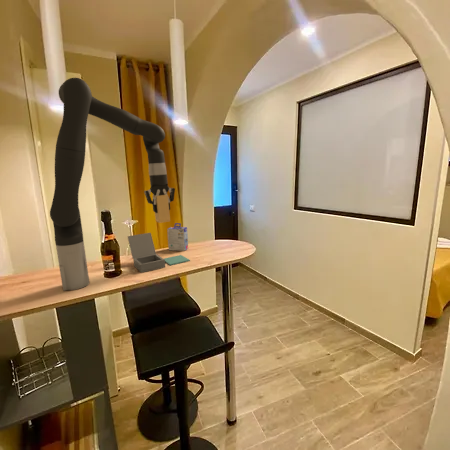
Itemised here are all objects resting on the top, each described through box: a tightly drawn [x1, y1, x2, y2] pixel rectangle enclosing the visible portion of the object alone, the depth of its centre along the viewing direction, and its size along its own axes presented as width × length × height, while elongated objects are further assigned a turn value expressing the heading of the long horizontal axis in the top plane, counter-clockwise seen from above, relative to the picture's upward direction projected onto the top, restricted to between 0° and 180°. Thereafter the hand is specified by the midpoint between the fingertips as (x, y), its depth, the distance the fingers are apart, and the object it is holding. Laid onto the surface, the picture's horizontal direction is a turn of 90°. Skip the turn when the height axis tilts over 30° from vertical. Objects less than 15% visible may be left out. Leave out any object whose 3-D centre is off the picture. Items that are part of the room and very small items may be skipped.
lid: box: [127, 232, 157, 259], centre depth 131 cm, size 11×11×2 cm
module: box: [154, 194, 171, 224], centre depth 124 cm, size 5×5×12 cm
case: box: [132, 253, 166, 273], centre depth 124 cm, size 11×11×4 cm
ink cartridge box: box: [166, 222, 189, 252], centre depth 149 cm, size 10×6×14 cm, turn 78°
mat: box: [163, 254, 191, 266], centre depth 132 cm, size 10×10×1 cm
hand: (162, 211), depth 124 cm, fingers closed on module, 5 cm apart
